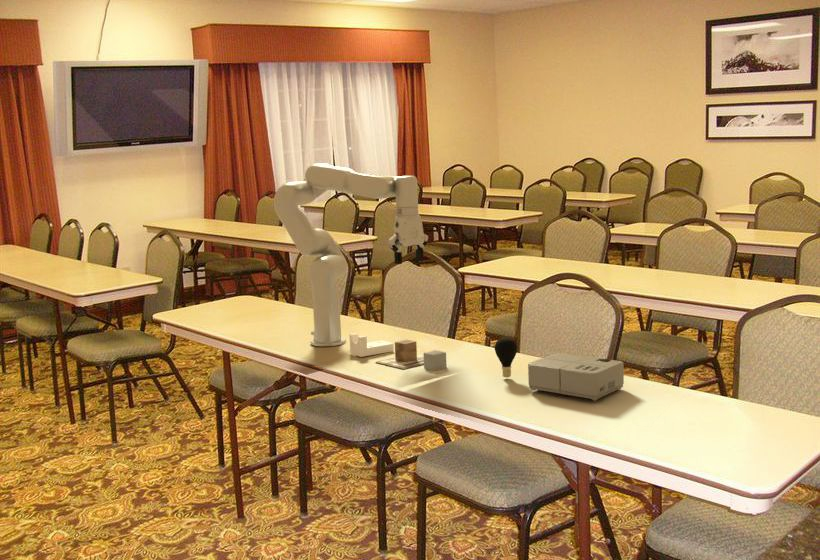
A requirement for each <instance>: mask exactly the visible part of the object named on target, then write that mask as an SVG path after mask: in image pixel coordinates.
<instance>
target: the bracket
mask: <svg viewBox="0 0 820 560" xmlns="http://www.w3.org/2000/svg"><path fill="white" fill-rule="evenodd" d="M367 337H368V336H367V335H362V336H359V335H358V333H357V332H355V333H350V334H349V349H350V350H349V352H350V354H351V356H353V357H360V358H363V357H367V356H373V355H380V354H384V353H390V352H395V343H392V342H389V341H385V340H377V341H372V342H367V341H368V338H367Z"/></svg>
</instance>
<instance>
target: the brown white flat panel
mask: <svg viewBox="0 0 820 560" xmlns="http://www.w3.org/2000/svg"><path fill="white" fill-rule="evenodd" d="M375 364H378V365H383V366H387V367H391V368H396V369H399V370H404V371H405V370H407V369H412V368H417V367H421V366H424V355H418V354H417V360H413V361H409V362H402V361H397V360H395V357H393V358H387V359H383V360H379V361H375Z"/></svg>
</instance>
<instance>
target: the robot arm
mask: <svg viewBox="0 0 820 560" xmlns="http://www.w3.org/2000/svg"><path fill="white" fill-rule="evenodd" d="M304 173H305V174H304V179H302V180H301V181H289V182H286V183H284V184H281V186H279V187H278V188H277V190H276V191H275V194H274V197H273V208H274V211H275V214H276V216H277V217H278V219H279V221H280V222H281V223H282V225H283V226H284V228H285V230H286V232H287V233H288V235H289V237H290V238H291V240H292V242H293V243H294V246H295V247H296V248H297V250H298V252H299V253H300V255H303V257H315V259H313V260H312V261H311V263H310V264H309V268H308V277H309V280H310V281H309V282H310V287H311V295H312V296H311V297H312V308H313V309H312V310H313V311H312V312H313V331H311V332H310V335H311V336H313V339H311V340H310V345H312V346H314V347H336V346H340V345H343V344H345V343H346V341H347V339H346V338H345V337H343V336H342V326H341V325H342V324H341V307H340V306H341V305H340V293H339V291H340V290H339V287H338V284H337V280H338V279H341V278H343V277H344V276H345V274H346V273H347V271H348V263H347V260H346V258H345V256H344V254H343V253H342V251H341V249H340V248H339V246H338V244H337V243H336V241H335V240H334V238H333V235H331V234H330V232H328V231H327V230H325V229H323V228H317V227H316V228H314V227H313V225H312V224H311V223H310V221H309V219H308V217H307V215H305V213H303V211H302V210H301V209H300V208H299V206H304V205H308V204H311V203H312V202H314V201H315V200H316V199H317V198H319V197H321V196H322V195H324V193H326V192H327V191H334V192H338V193H339V192H340V193H346V194H348V195H353V196H357V197H363V198H370V199H378V200H381V199H382V200H383V199H387V198H388V199H389V198H390V199H391V198H395V206H396V208H395V209H394V214H395V215H396V216H395V219H394V225H393V235H392V236H391V237H390V238H389V239H388V240H387V243H388V245H389V248H390V249H391V250H392V252H393V253H394V257H393V258H394V264H396V265H397V264H398V265H402V264H403V253H402V249H403V247H413V246H415V247H416V249H415V258H416V259H415V260H416V261H417V262H418V261H419V262H424V261H425V260H424V259H425V258H424V250H425V249H426V248H425V247H426V246H427V243H428V240H429V235H427V234H426V233H424V226H423V221H422V217H421V215H419V195H418V194H419V193H418V189H419V188H418V179H417V177H416V176H415V175H402V176H393V175H380V176H376V175H370V174H365V173H363V174H362V173H358V172H355V171H354V170H353V169H352V168H348V167H342V166H336V165H335V166H334V165H333V164H331V163H326V162H325V163H320V162H319V163H314V164H313V163H312V164H311V165H309V166H308V167H307V169H306V170H305V172H304Z"/></svg>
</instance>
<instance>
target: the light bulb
mask: <svg viewBox="0 0 820 560" xmlns="http://www.w3.org/2000/svg"><path fill="white" fill-rule="evenodd" d="M494 352H495V354H496V356H497V359H498V360H499V362H500V363H501V370H502V371H501V372H502V377H503V378H510V377H511V376H512V363H513V362H514V359H515V357H516V356H517V352H518V344H517V342H516V340H514V339H513V338H511V337H507V336H505V337H501V338H499V339H498V340H497V341H496V342H495V344H494Z"/></svg>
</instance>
